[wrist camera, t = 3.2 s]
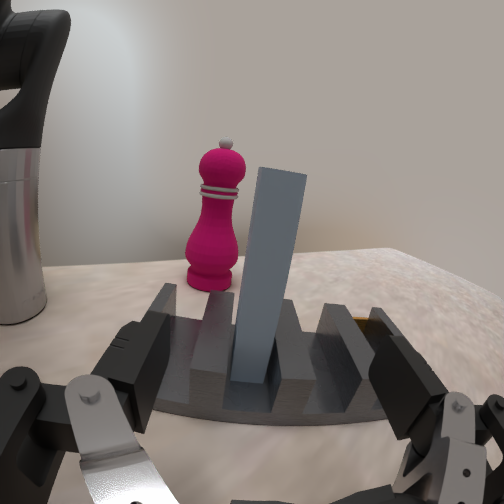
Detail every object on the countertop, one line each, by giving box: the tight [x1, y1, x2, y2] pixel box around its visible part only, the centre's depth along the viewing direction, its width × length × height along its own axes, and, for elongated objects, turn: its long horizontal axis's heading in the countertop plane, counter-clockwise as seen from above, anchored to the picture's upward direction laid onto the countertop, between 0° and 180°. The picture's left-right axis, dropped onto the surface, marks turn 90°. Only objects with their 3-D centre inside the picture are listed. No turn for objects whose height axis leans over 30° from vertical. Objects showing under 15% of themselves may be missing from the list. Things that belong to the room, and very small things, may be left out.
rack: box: [142, 283, 416, 426], centre depth 21 cm, size 22×11×5 cm, turn 90°
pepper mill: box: [185, 137, 246, 292], centre depth 36 cm, size 7×7×20 cm
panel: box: [230, 167, 307, 384], centre depth 19 cm, size 2×5×15 cm, turn 0°
